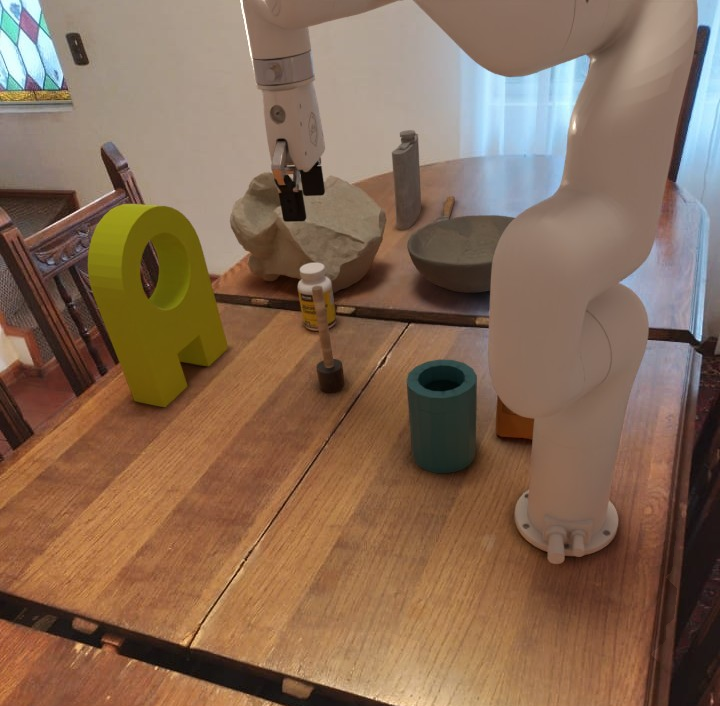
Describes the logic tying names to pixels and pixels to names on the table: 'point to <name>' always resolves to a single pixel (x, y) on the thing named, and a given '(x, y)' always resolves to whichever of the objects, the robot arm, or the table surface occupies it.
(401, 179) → the hip flask
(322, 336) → the scrub brush
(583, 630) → the table surface
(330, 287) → the pill bottle
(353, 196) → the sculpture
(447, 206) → the knife
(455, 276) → the bowl
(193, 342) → the decorative object
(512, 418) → the coffee package
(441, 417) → the jar
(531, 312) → the robot arm
